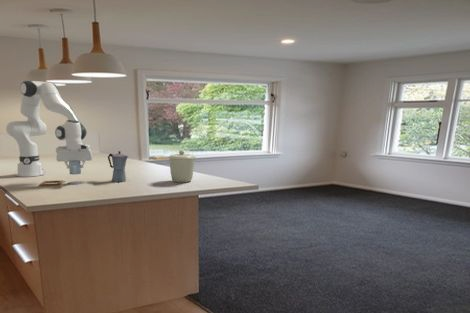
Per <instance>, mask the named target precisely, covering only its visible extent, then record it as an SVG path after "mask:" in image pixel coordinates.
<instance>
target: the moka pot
mask: <svg viewBox="0 0 470 313" xmlns="http://www.w3.org/2000/svg"><path fill="white" fill-rule="evenodd" d="M121 152H122V151H118V152H117V153H115V154H114V153H108V154H109V155H108V156H107V160H108V163H109V167H110V168H112V169H113V170H112V179H111V181H112V182H114V183H123V182H126V181H127V174H126V165H127V161H128V160H127V159H129V156H128V155H127V154H123V153H121Z"/></svg>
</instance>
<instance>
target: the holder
mask: <svg viewBox="0 0 470 313" xmlns="http://www.w3.org/2000/svg"><path fill="white" fill-rule="evenodd" d="M65 183H66V180H63V179H62V180H44V181H42V182H40V183H39V184H38V185H37V186H36V188H52V187H53V188H56V187H61V186H63V185H64V184H65Z"/></svg>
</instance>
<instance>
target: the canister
mask: <svg viewBox="0 0 470 313" xmlns="http://www.w3.org/2000/svg"><path fill="white" fill-rule="evenodd" d="M195 158H196V156H195V155H193V154H189V153H185V150H183V149H180V150H179V152H178V153H175V154H174V153H173V154H171V155H170V156H168V157H167V159H168V161H169V168H170V175H171V176H170V177H171V180H172V181H173V182H174V183H188V182H191V181H192V180H193V175H194V168H195Z"/></svg>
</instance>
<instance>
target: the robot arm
mask: <svg viewBox="0 0 470 313" xmlns="http://www.w3.org/2000/svg"><path fill="white" fill-rule="evenodd" d="M20 91H21V94H22V97H21V103H20V114H21V115H23V116H24V117H26V118H27V120H15V121H10V122H8V123H7V125H6V126H5V127H6V129H5V130H6V133H7V134H8V135H9V137H12V138H13V139H14V140H15V142H16V143H17V145H18V148H19V149H18V150H19V157H18V159H19V163H17V173H15V176H16V177H21V178H25V177H27V178H28V177H29V178H30V177H38V176H45V175H46V174H47V170H44V168H43V164H42V163H41V161H40V154H39V148H38V145H37V142H34V141H32V140H31V139H30V137H39V136H42V135H45V134H46V133H47V131H48V127H47V124H46V123H45V122H44V121H42V119H41V117H40V108H41V102H42V103H43V105H44V107H45V108H46V110H48V111H50V112H52V113H55V114H59V115H61V116H63V117H65V118H67V120H65V122H64V123H63V124H61V125H58V126H56V128H55V133H54V134H55V137H56V138H57V139H58V140H59V141H65V144H66V145H65V146H58V147H56V148H55V153H56V161H57V162H64V164H65V166H66V169H69V161H80V162H82V164H81V169H84V165H85V164H86V162H88V161H89V162H90V161H92V160H93V158H94V157H93V153H92V150H91V149H90V147H91V145H89V144H86V143H83V140H84V139H85V138H86V137H87V133H88V132H87V129H86V128H85V126H84V125H83V124H82V122H81V121H80V119H79V118H78V116H77V114H76V112H74V110H73V108H72V107H71V105H69V104H67V102H65V101H64V99H63V98H62V96H61V94H60V92H59V88H58V87H57V85H56V84H55V83H54V82H50V81H49V82H47V81H41V80H40V81H38V80H24V81H23V82H22V83H21V84H20Z"/></svg>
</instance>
